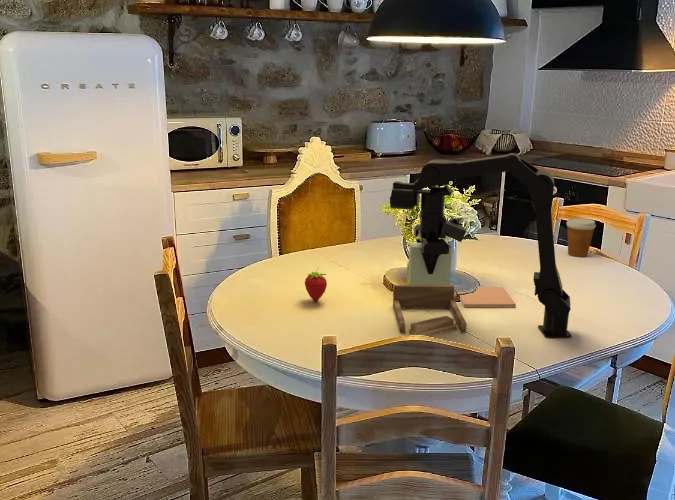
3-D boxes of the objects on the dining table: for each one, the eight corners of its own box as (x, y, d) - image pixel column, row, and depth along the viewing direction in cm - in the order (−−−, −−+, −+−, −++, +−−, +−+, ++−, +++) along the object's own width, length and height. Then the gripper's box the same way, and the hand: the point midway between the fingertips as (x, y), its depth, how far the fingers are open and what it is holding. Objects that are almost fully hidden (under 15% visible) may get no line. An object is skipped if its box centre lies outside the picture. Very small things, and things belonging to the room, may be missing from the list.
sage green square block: (449, 285, 170) (451, 247, 168) (409, 285, 170) (411, 247, 167) (446, 280, 174) (448, 243, 171) (408, 280, 174) (409, 242, 171)
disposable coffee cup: (557, 251, 234) (560, 218, 230) (580, 249, 236) (584, 216, 233) (574, 259, 225) (578, 224, 222) (598, 257, 228) (602, 223, 224)
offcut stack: (457, 331, 167) (458, 319, 166) (416, 339, 162) (416, 327, 161) (449, 326, 170) (449, 315, 169) (408, 334, 165) (408, 322, 164)
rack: (465, 332, 165) (467, 309, 164) (400, 332, 165) (400, 309, 163) (452, 305, 183) (453, 285, 181) (392, 305, 182) (393, 284, 181)
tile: (515, 307, 182) (515, 304, 182) (463, 307, 182) (464, 304, 182) (502, 290, 195) (502, 286, 195) (454, 289, 195) (454, 286, 195)
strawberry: (322, 296, 189) (322, 262, 186) (330, 305, 182) (330, 270, 180) (301, 298, 187) (301, 264, 185) (309, 307, 181) (309, 272, 178)
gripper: (472, 220, 158) (468, 283, 163) (457, 203, 176) (453, 260, 180) (425, 220, 158) (422, 283, 162) (414, 203, 176) (412, 260, 180)
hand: (429, 271), depth 171 cm, fingers closed on sage green square block, 4 cm apart
